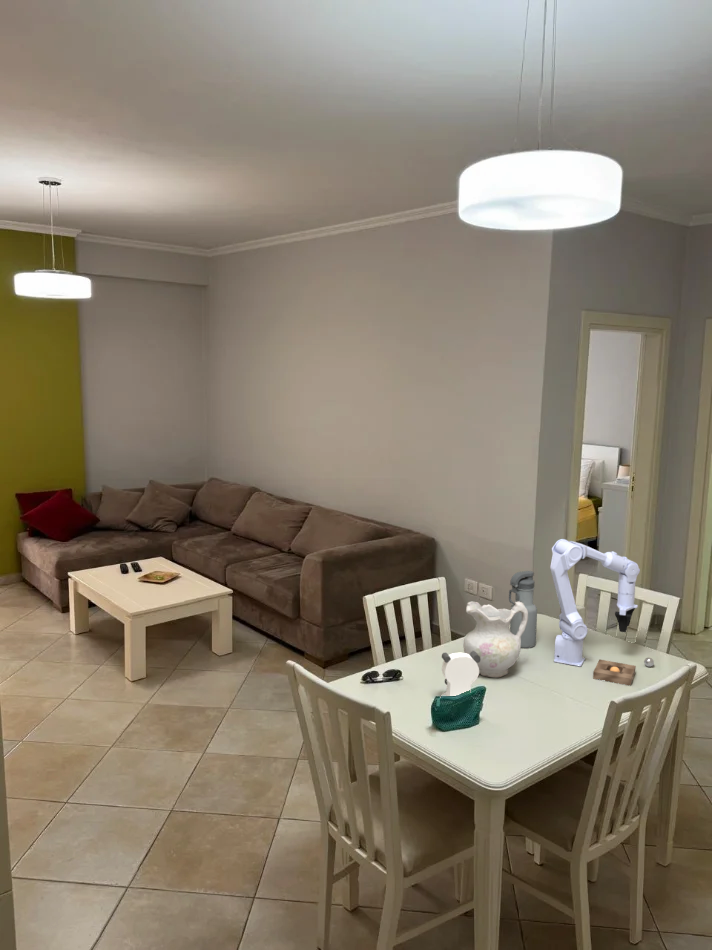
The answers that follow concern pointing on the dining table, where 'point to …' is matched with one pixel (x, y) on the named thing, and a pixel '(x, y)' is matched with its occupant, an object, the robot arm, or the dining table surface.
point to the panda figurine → (460, 671)
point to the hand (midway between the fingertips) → (624, 628)
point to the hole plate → (620, 677)
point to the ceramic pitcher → (494, 637)
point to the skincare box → (581, 612)
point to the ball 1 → (615, 669)
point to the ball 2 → (649, 662)
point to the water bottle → (525, 594)
